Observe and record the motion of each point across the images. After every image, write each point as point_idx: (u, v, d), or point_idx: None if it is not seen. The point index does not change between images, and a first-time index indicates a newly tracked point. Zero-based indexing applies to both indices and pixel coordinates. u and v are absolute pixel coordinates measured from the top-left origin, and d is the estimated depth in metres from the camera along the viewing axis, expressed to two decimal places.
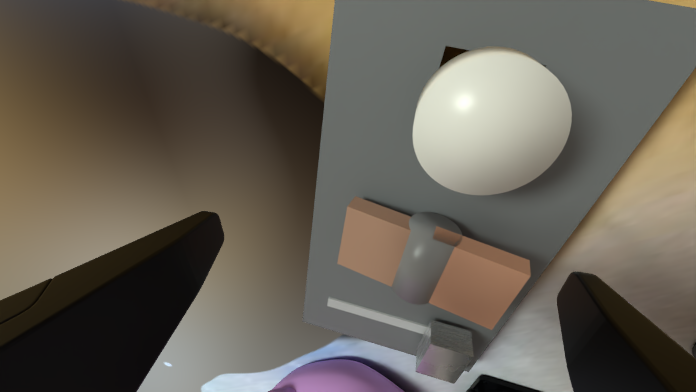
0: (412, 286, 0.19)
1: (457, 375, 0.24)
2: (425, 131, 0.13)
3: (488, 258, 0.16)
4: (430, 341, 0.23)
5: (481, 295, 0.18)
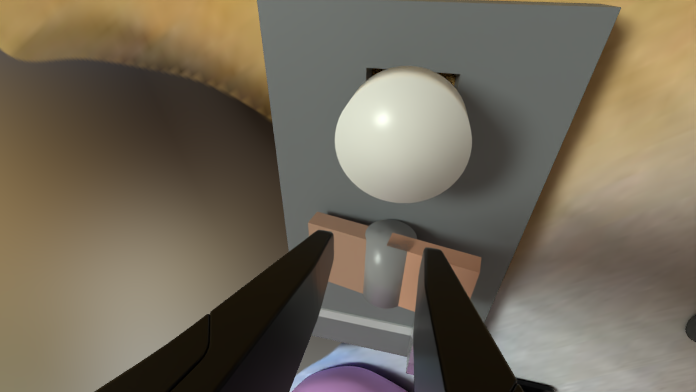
0: (378, 292, 0.19)
1: None
2: (347, 151, 0.14)
3: None
4: (412, 342, 0.23)
5: None
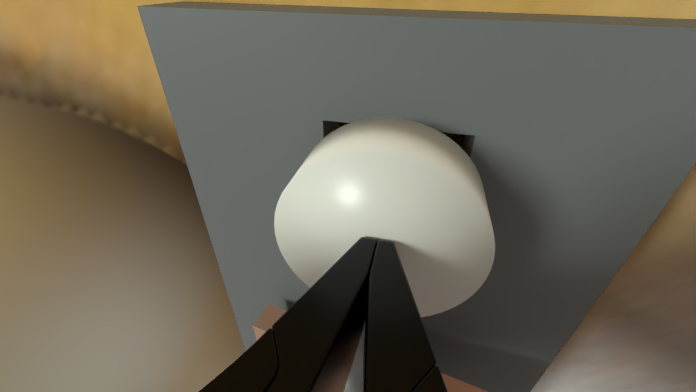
0: None
1: None
2: (295, 247, 0.09)
3: None
4: None
5: None
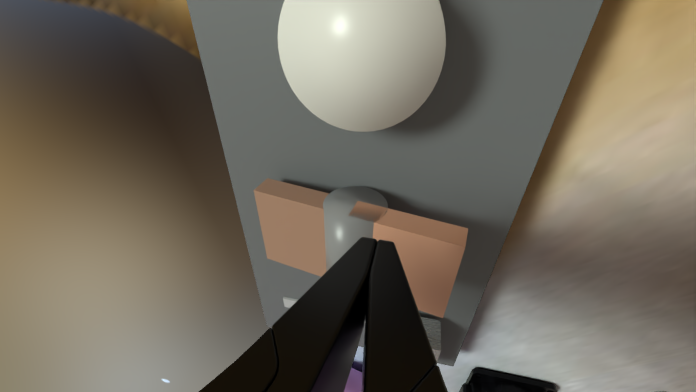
0: None
1: None
2: (294, 62, 0.11)
3: (414, 231, 0.13)
4: None
5: (419, 277, 0.14)
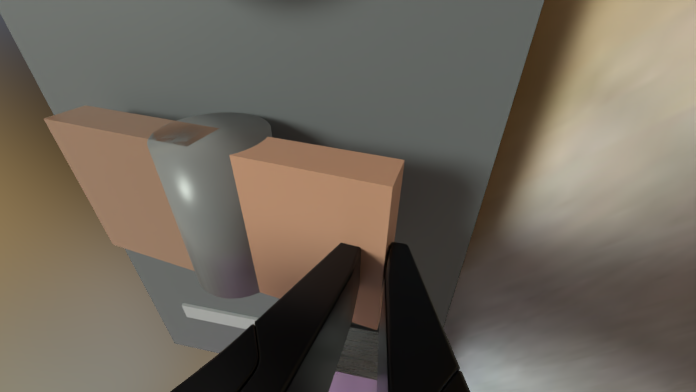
0: (203, 263, 0.09)
1: None
2: None
3: (300, 165, 0.07)
4: None
5: None
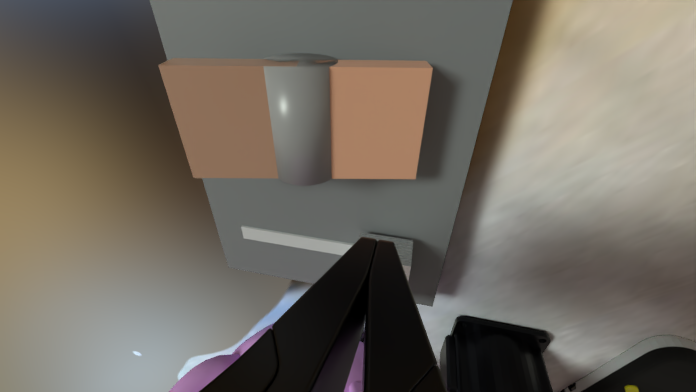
0: (299, 156, 0.13)
1: None
2: None
3: (376, 66, 0.12)
4: None
5: (387, 132, 0.13)
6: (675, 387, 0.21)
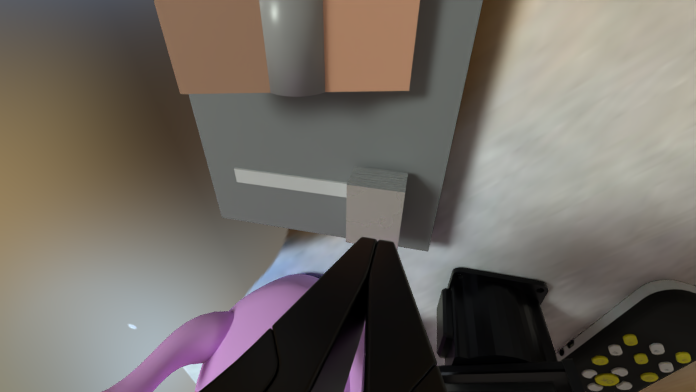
0: (293, 61, 0.13)
1: (396, 234, 0.17)
2: None
3: None
4: None
5: (381, 35, 0.13)
6: (674, 333, 0.21)
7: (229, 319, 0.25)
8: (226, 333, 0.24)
